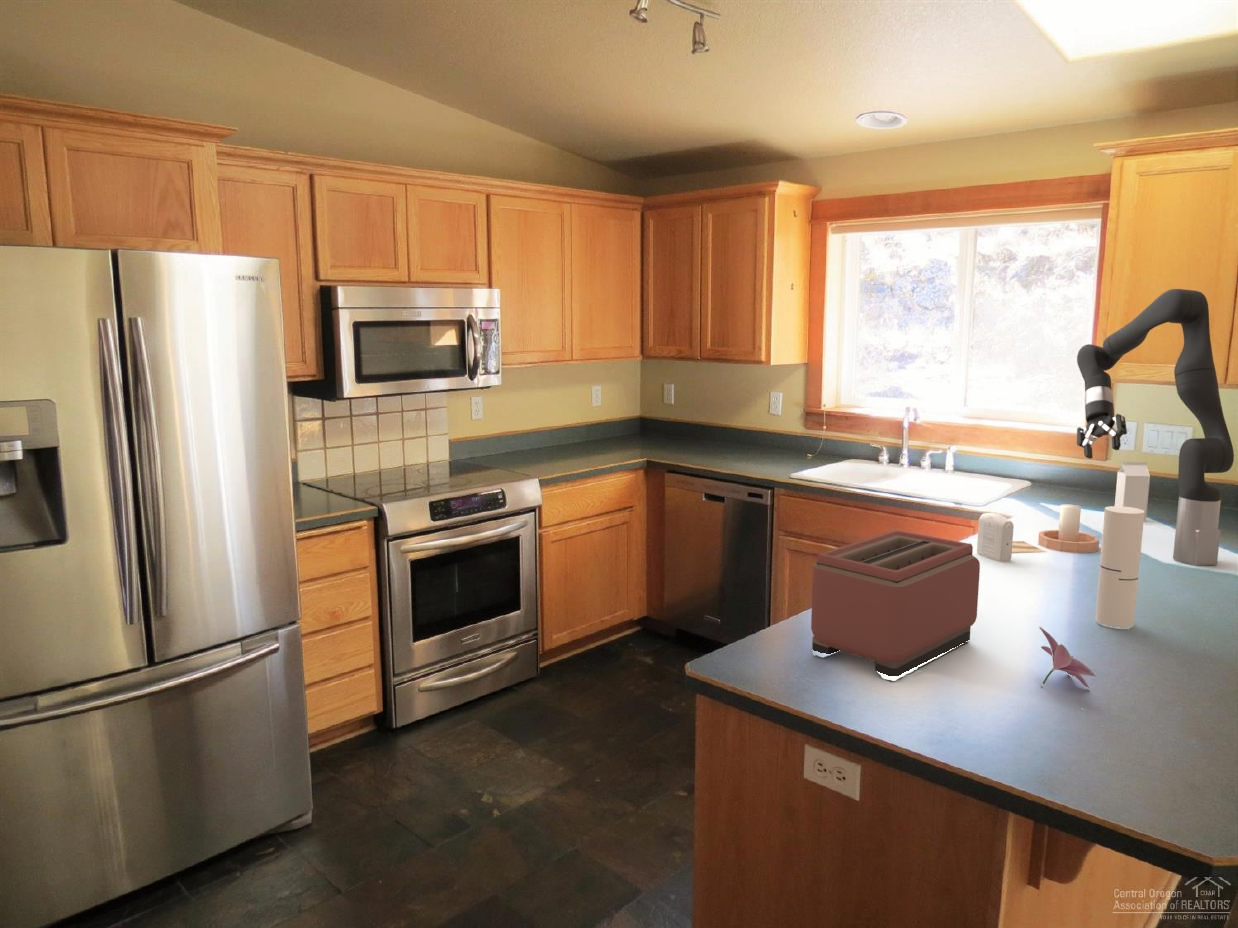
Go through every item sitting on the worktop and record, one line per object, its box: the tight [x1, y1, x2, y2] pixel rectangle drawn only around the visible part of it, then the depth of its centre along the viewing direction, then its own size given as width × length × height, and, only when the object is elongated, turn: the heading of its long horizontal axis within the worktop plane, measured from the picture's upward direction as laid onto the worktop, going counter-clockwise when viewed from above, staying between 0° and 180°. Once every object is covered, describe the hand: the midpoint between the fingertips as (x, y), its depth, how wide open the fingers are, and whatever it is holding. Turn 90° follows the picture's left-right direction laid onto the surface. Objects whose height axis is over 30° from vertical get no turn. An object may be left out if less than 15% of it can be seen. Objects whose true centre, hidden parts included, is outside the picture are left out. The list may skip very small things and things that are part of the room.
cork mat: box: [1012, 540, 1047, 554], centre depth 241 cm, size 12×12×1 cm
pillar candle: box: [1058, 503, 1082, 542], centre depth 242 cm, size 5×5×11 cm
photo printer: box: [976, 512, 1014, 563], centre depth 231 cm, size 10×4×12 cm, turn 17°
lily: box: [1039, 626, 1096, 689], centre depth 150 cm, size 12×12×10 cm
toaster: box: [810, 529, 981, 676], centre depth 168 cm, size 19×36×21 cm, turn 132°
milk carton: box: [1114, 461, 1151, 522], centre depth 274 cm, size 7×7×19 cm
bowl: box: [1037, 529, 1100, 554], centre depth 242 cm, size 15×15×3 cm
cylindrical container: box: [1094, 505, 1145, 628], centre depth 178 cm, size 7×7×25 cm
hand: (1102, 453), depth 248 cm, fingers open, 8 cm apart
